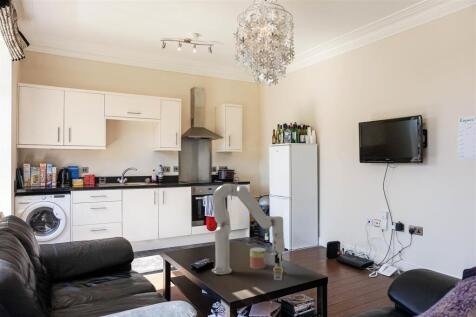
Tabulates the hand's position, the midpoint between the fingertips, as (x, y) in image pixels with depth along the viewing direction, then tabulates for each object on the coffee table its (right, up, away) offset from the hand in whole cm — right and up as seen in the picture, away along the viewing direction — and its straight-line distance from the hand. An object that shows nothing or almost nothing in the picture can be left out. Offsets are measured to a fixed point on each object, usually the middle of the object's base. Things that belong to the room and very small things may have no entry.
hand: (278, 262), depth 217 cm
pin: (0, -2, 0) cm, 2 cm away
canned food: (-13, -8, +15) cm, 22 cm away
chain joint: (0, -7, 0) cm, 7 cm away
